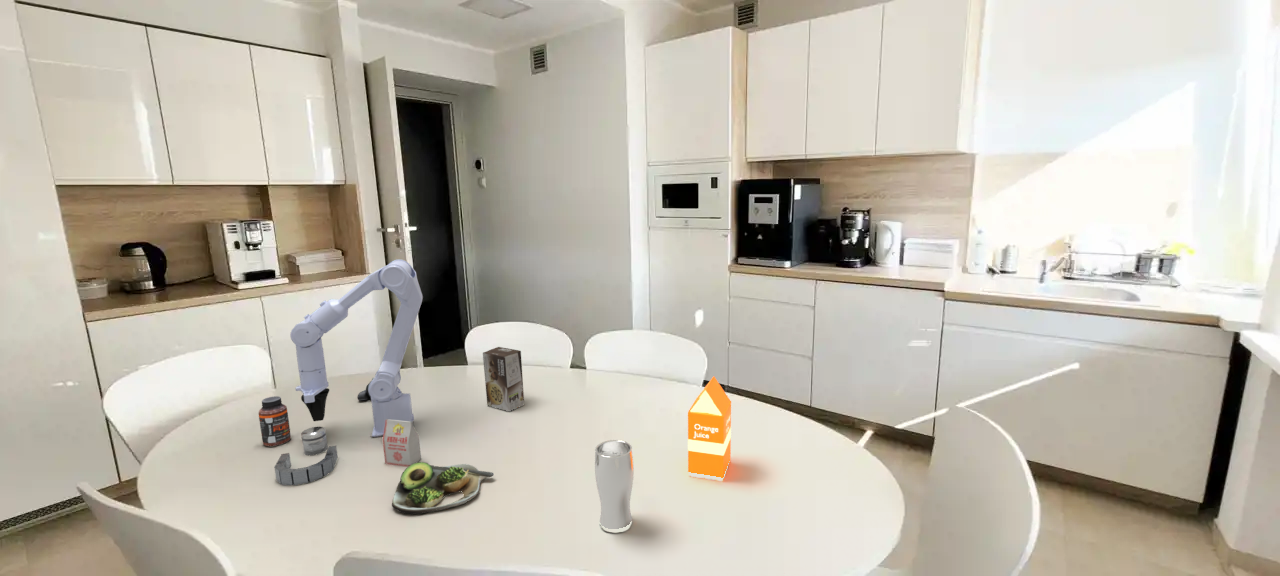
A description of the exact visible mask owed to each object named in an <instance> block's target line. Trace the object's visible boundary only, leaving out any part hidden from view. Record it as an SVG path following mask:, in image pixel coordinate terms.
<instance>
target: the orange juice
mask: <svg viewBox="0 0 1280 576" xmlns="http://www.w3.org/2000/svg"><path fill="white" fill-rule="evenodd" d="M731 439H732V400H731V399H730V397H729V396H728V395H727V393H726V392H725V390H724V389H723V387H722V386H721V384H720V383H719V381H718V380H717V378H716V377H715V376H713V377H712V378H711V379H710V380H709V382H708V383H706V385H705V387H704V388H703V390H702V391H701V392H700V393H699V395H697V397H696V398H695V400H694V402H693V403H692V404H691V407H690V408H689V409H688V411H687V455H688V456H687V465H688V466H687V467H688V468H687V469H688V471H687V473H688V472H691V473H697V474H704V475H710V476H716V477H721V478H723V477H724V474H725V471H726V469H727V466H728V463H729V461H730V462H731V449H732V447H731V445H732V444H731V443H732V442H731V441H732V440H731Z"/></svg>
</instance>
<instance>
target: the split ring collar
mask: <svg viewBox="0 0 1280 576" xmlns="http://www.w3.org/2000/svg"><path fill="white" fill-rule="evenodd" d="M338 458H339V457H338V448H337V445H331V446H329V445H328V449H327V450H326V453H325V456H324V458H323V459H321V460H319V462H316V463H314V464H311V465H308V466H305V467H300V468H291V466H292V462H291V461H292V460H291V455H290V452H286V453H281V454H280V456H279V459H278V460H277V462H276V464H275V465H274V473H275V474H274V475H275V479H276V480H277V482H278V484H280V485H282V486H291V485H293V486H299V485H298V484H300V485H303V483H306V484H309V483H312V481H313V482H315V481H318V480H320V479H323V478H324V477H323V476H325V477H326V476H328V475H329V474H330V473H332V472H333V471H335V466H336V464H337V461H338ZM328 473H329V474H328ZM327 474H328V475H327ZM322 477H323V478H322ZM319 478H320V479H319ZM317 479H318V480H317ZM276 480H275V481H276ZM314 480H315V481H314Z"/></svg>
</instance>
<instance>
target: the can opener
mask: <svg viewBox="0 0 1280 576" xmlns="http://www.w3.org/2000/svg"><path fill="white" fill-rule="evenodd" d="M373 379H374V377H372V378H371V381H372V380H373ZM369 384H370V382H369V383H368V384H366V387H365V390H363V391H360V392H359V393H358V394H357V400H358V401H367V400H371V396H370V394H369V392H368V387H369Z"/></svg>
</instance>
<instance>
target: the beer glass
mask: <svg viewBox="0 0 1280 576" xmlns="http://www.w3.org/2000/svg"><path fill="white" fill-rule="evenodd" d="M594 451H595V455H594V476H595V478H594V479H595V482H596V488H597V493H598V497H599V501H600V516H599V522H600V523H601V525H602V526H604V527H605V528H608V529H619V528H623V527H626V526H627V525H629V524H630V522H631V521H632V522H633V516H632V513H631V512H632V511H631V495H632V490H633V484H634V482H633V481H634V459H633V458H634V456H633V446H632V444H630V443H629V442H627V441H624V440H621V439H620V440H618V439H613V440H612V439H610V440H606V441H602V442H600V443H599V444H597V445H596V447H595V449H594Z"/></svg>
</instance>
